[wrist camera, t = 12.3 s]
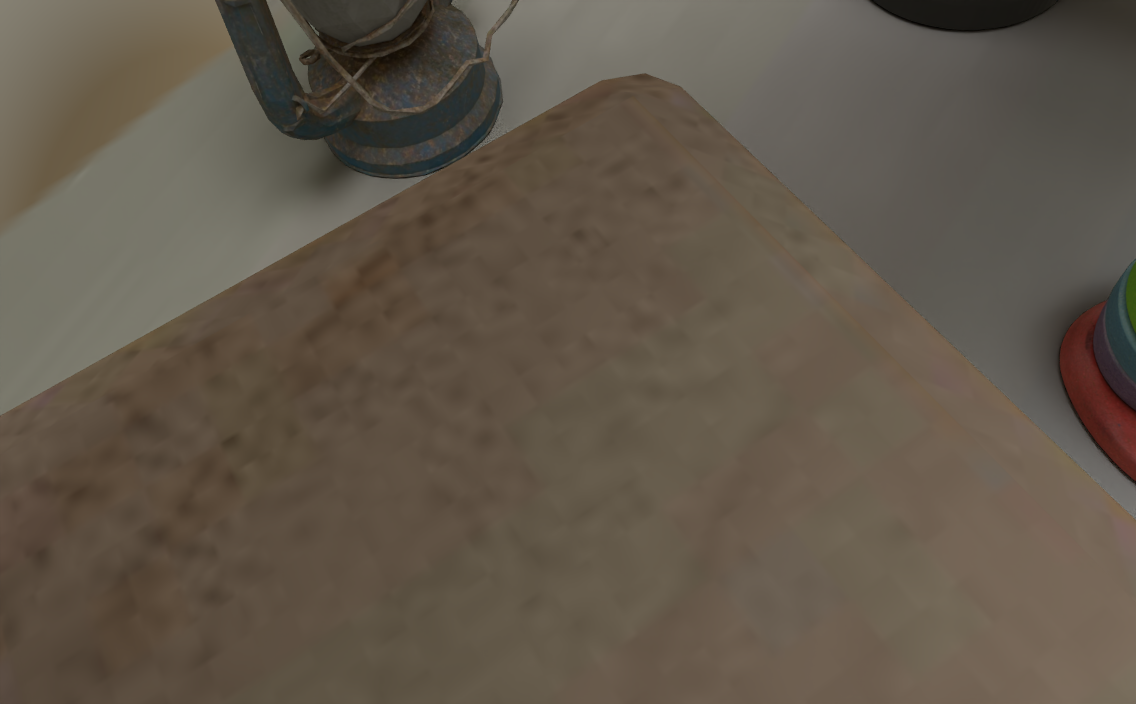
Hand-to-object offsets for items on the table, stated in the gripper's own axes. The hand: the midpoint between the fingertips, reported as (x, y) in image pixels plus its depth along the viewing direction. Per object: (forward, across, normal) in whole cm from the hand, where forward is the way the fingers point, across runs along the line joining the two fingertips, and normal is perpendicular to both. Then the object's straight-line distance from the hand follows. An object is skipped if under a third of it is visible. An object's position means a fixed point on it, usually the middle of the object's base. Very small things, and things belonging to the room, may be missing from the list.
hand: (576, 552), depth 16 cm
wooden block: (+6, 0, -9) cm, 11 cm away
